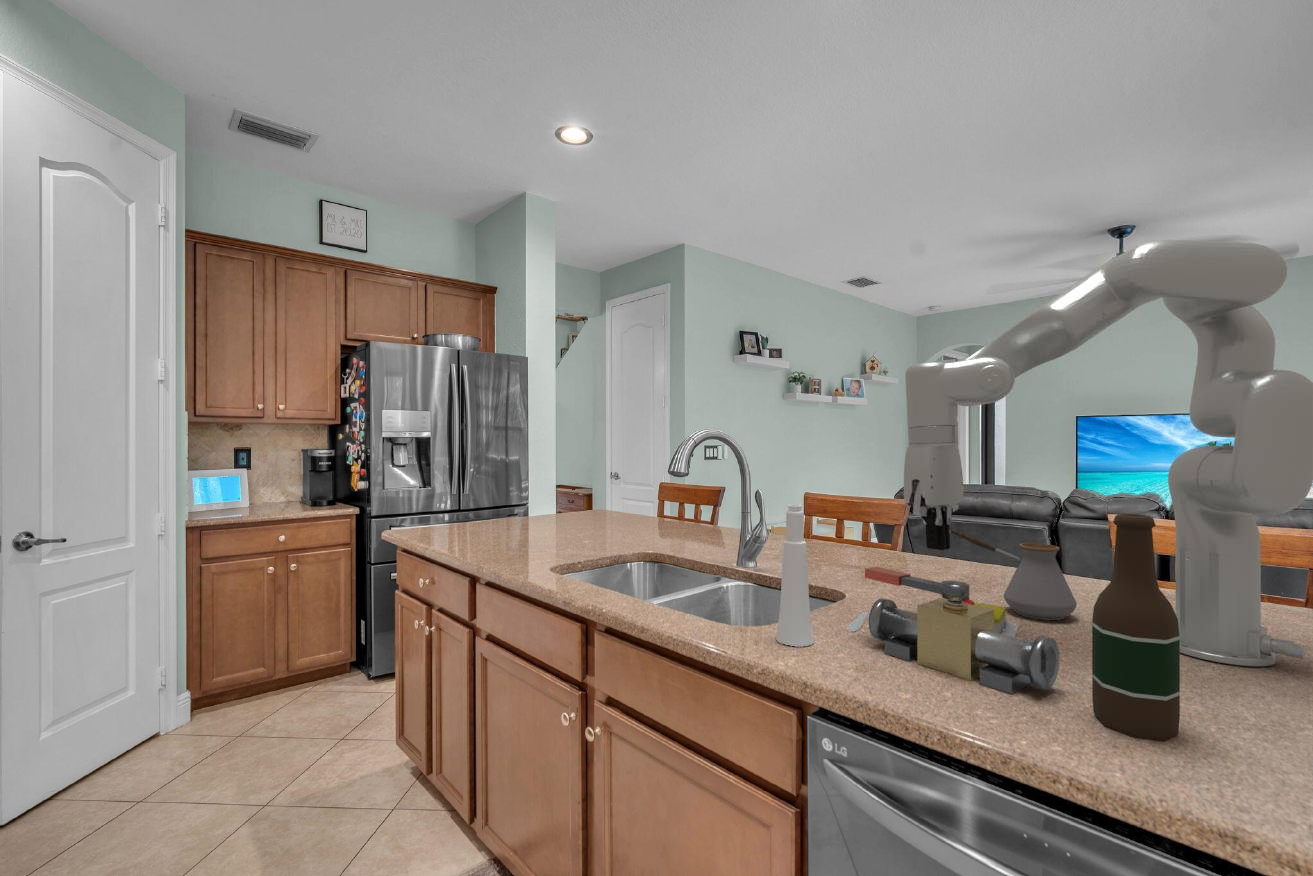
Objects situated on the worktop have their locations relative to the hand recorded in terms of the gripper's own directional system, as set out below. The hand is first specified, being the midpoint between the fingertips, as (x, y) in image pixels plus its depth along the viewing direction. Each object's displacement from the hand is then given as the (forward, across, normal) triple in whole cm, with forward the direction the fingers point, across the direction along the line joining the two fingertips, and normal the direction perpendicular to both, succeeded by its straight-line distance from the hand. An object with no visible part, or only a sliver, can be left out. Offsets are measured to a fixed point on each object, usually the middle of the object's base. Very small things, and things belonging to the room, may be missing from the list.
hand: (938, 548), depth 98 cm
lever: (+5, +10, +2) cm, 11 cm away
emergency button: (+16, -11, -2) cm, 20 cm away
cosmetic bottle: (+14, +22, -12) cm, 28 cm away
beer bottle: (+15, +9, +30) cm, 35 cm away
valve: (+15, +10, +8) cm, 20 cm away
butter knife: (+15, -1, -17) cm, 22 cm away
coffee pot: (+16, -25, -3) cm, 30 cm away
